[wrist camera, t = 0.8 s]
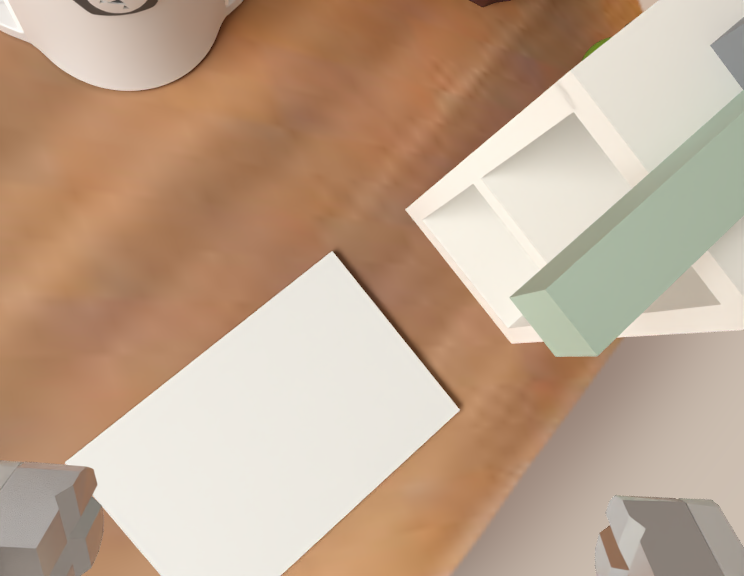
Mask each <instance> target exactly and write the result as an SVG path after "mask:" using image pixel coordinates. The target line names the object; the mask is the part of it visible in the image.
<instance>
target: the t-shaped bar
mask: <svg viewBox="0 0 744 576" xmlns="http://www.w3.org/2000/svg"><path fill="white" fill-rule="evenodd" d="M710 46H711V47H712V49H713V50H714V52H715V53H716V54H717V56H718V57H719V58H720V60H721V61H722V62H723V64H724V65H725V66H726V68H727V69H728V70H729V72H730V73H731V74H732V76H733V77H734V78H735V80H736V81H737V82H738V84H739V85H740V86H741V88H742V89H743V91H741V92H740V93H739V94H738V95H737V96H736V97H735V98H734V99H732V100H731V101H730V102H729V103H728V104H727V105H726V106H725V107H723V108H722V109H721V110H720V111H719V112H718V113H717V114H716V115H714V116H713V117H712V118H711V119H710V120H709V121H708V122H707V123H705V124H704V125H703V126H702V127H701V128H700V129H699V130H697V131H696V132H695V133H694V134H693V135H692V136H691V137H690V138H688V139H687V140H686V141H685V142H684V143H683V144H682V145H681V146H679V147H678V148H677V149H676V150H675V151H674V152H673V153H672V154H670V155H669V156H668V157H667V158H666V159H665V160H664V161H663V162H661V163H660V164H659V165H658V166H657V167H656V168H655V169H654V170H652V171H651V172H650V173H649V174H648V175H647V176H646V177H645V178H643V179H642V180H641V181H640V182H639V183H638V184H637V185H636V186H634V187H633V188H632V189H631V190H630V191H629V192H628V193H627V194H625V195H624V196H623V197H622V198H621V199H620V200H619V201H617V202H616V203H615V204H614V205H613V206H612V207H611V208H610V209H608V210H607V211H606V212H605V213H604V214H603V215H602V216H601V217H599V218H598V219H597V220H596V221H595V222H594V223H593V224H592V225H590V226H589V227H588V228H587V229H586V230H585V231H584V232H583V233H581V234H580V235H579V236H578V237H577V238H576V239H575V240H574V241H572V242H571V243H570V244H569V245H568V246H567V247H566V248H565V249H563V250H562V251H561V252H560V253H559V254H558V255H557V256H556V257H554V258H553V259H552V260H551V261H550V262H549V263H548V264H547V265H545V266H544V267H543V268H542V269H541V270H540V271H539V272H537V273H536V274H535V275H534V276H533V277H532V278H531V279H530V280H528V281H527V282H526V283H525V284H524V285H523V286H522V287H521V288H519V289H518V290H517V291H516V292H515V293H514V294H513V295H512V296H510V297H509V298H510V299H511V301H512V302H513V303H514V305H515V306H516V307H517V308H518V310H519V311H520V312H521V313H522V315H523V316H524V317H525V318H526V320H527V321H528V322H529V324H530V325H531V326H532V327H533V329H534V330H535V331H536V332H537V334H538V335H539V336H540V338H541V339H542V340H543V341H544V343H545V344H546V345H547V346H548V348H549V349H550V350H551V351H552V353H553V354H554V355H555V357H563V356H598V355H599V354H600V353H601V352H602V351H603V350H604V349H605V348H606V347H607V346H609V345H610V344H611V343H612V342H613V341H614V340H615V339H616V338H617V337H618V336H619V335H620V334H621V333H622V332H623V331H624V330H625V329H626V328H627V327H628V326H629V325H630V324H631V323H632V322H633V321H635V320H636V319H637V318H638V317H639V316H640V315H641V314H642V313H643V312H644V311H645V310H646V309H647V308H648V307H649V306H650V305H651V304H652V303H653V302H654V301H655V300H656V299H657V298H658V297H659V296H660V295H662V294H663V293H664V292H665V291H666V290H667V289H668V288H669V287H670V286H671V285H672V284H673V283H674V282H675V281H676V280H677V279H678V278H679V277H680V276H681V275H682V274H683V273H684V272H685V271H686V270H688V269H689V268H690V267H691V266H692V265H693V264H694V263H695V262H696V261H697V260H698V259H699V258H700V257H701V256H702V255H703V254H704V253H705V252H706V251H707V250H708V249H709V248H710V247H711V246H712V245H714V244H715V243H716V242H717V241H718V240H719V239H720V238H721V237H722V236H723V235H724V234H725V233H726V232H727V231H728V230H729V229H730V228H731V227H732V226H733V225H734V224H735V223H736V222H737V221H738V220H739V219H741V218H742V217H743V216H744V17H743V18H742V19H741V20H739V21H738V22H737V23H736V24H735V25H734V26H732V27H731V28H730V29H729V30H728V31H726V32H725V33H724V34H723V35H722V36H720V37H719V38H718V39H717V40H716V41H715V42H713V43H712V44H711V45H710Z"/></svg>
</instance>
